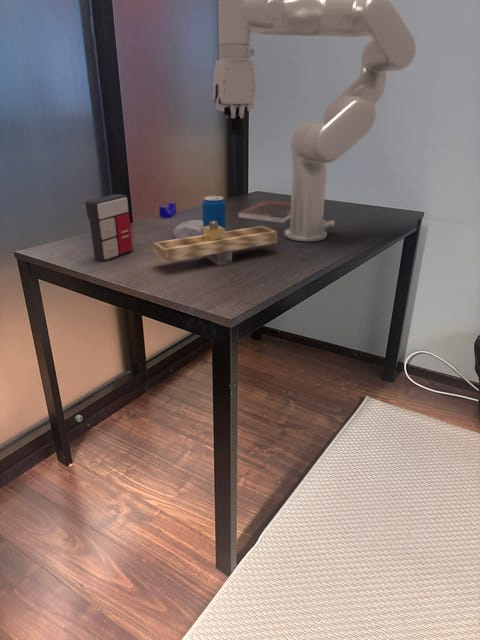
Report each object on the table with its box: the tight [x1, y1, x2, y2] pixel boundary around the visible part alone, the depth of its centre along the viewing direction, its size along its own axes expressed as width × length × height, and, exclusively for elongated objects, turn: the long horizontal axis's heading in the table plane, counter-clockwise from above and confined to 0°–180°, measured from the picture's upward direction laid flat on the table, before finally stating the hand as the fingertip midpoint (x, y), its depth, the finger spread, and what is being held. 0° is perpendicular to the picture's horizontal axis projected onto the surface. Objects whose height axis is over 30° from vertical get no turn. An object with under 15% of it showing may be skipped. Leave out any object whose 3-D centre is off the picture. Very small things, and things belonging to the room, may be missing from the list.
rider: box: [203, 221, 225, 242], centre depth 120 cm, size 4×4×6 cm
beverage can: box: [202, 195, 226, 231], centre depth 138 cm, size 6×6×12 cm
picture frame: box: [238, 200, 291, 223], centre depth 170 cm, size 16×2×22 cm
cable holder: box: [158, 201, 177, 219], centre depth 166 cm, size 8×4×4 cm, turn 158°
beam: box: [152, 225, 278, 266], centre depth 123 cm, size 32×8×6 cm, turn 120°
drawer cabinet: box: [85, 193, 133, 262], centre depth 124 cm, size 11×4×15 cm, turn 148°
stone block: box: [172, 219, 203, 239], centre depth 145 cm, size 12×5×10 cm
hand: (235, 134), depth 124 cm, fingers closed
